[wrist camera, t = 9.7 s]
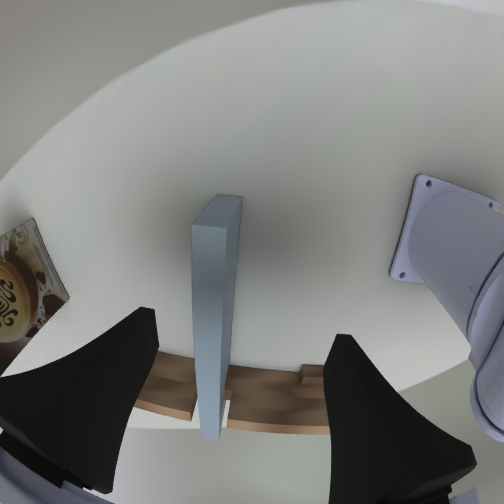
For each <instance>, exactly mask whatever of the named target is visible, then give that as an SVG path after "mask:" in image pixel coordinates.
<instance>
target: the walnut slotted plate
mask: <svg viewBox="0 0 504 504" xmlns="http://www.w3.org/2000/svg"><path fill="white" fill-rule="evenodd" d="M323 367H324V366H319V365H303V366H302V369H301V371H300V373H298V372H285V371H274V370H265V369H256V368H248V367H240V366H233V365H229V367H228V372H227V377H226V382H225V391H224V400H231V401H230V407H229V413H228V419H227V428H232V429H240V430H248V431H258V432H269V433H285V434H330V428H329V422H328V415H327V409H326V402H325V396H324V386H323ZM197 397H198V396H197V384H196V370H195V359H191V358H186V357H181V356H176V355H171V354H167V353H162V352H158V351H157V354H156V358H155V360H154V363H153V366H152V368H151V371H150V373H149V375H148V377H147V379H146V381H145V383H144V385H143V387H142V389H141V391H140V394H139V396H138V398H137V400H136V402H135V404H134V406H133V407H136V408H140V409H143V410H147V411H150V412H154V413H157V414H161V415H165V416H169V417H173V418H178V419H182V420H187V421H191V420H192V416H193V412H194V409H195V405H196V401H197Z"/></svg>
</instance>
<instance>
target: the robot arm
mask: <svg viewBox="0 0 504 504" xmlns="http://www.w3.org/2000/svg"><path fill="white" fill-rule="evenodd" d="M428 180H429V185H428V186H426V182H427V181H428ZM489 203H490V205H489ZM500 208H501V206H500V203H499V202H497V201H495V200H492V199H490V198H488V197H485V196H483V195H480V194H478V193H475V192H473V191H470V190H467V189H465V188H462V187H459V186H456V185H454V184H451V183H448V182H445V181H442V180H439V179H436V178H433V177H430V176H427V175H423V174H419V175H418V176H417V177H416V179H415V184H414V189H413V193H412V197H411V202H410V206H409V210H408V213H407V217H406V221H405V225H404V228H403V232H402V235H401V239H400V242H399V245H398V249H397V252H396V255H395V258H394V261H393V264H392V267H391V270H390V277H391V278H392V279H393V280H398V281H407V282H416V283H425V284H426V285H427V286H428V287H429V288H430V290H431V291H432V292H433V293H434V295H435V296H436V297H437V299H438V300H439V301H440V303H441V304H442V305H443V307H444V308H445V309H446V311H447V312H448V313H449V315H450V316H451V317H452V319H453V320H454V322H455V323H456V324H457V326H458V327H459V329H460V330H461V332H462V333H463V335H464V336H465V338H466V339H467V341H468V342H469V343H470V346H471V352H470V355H469V357H468V358H469V360H470V361H471V363H472V365H473V367H474V368H475V370H476V373H475V375H474V377H473V380H472V383H471V387H470V404H471V408H472V412H473V414H474V417H475V419H476V421H477V422H478V424H479V425H480V427H481V428H482V429H483V430H484V431H485V432H486V433H487V434H488V435H489V436H490V437H492V438H493V439H495V440H498V441H500V442H504V215H502V214H501V213H499V212H500ZM402 272H403V275H401V276H400V273H402ZM158 348H159V341H158V334H157V326H156V318H155V310H154V309H150V308H145V307H139V308H138V309H137V310H135V311H134V312H132V313H131V314H130V315H128V316H127V317H126V318H124V319H123V320H122V321H120V322H119V323H117V324H116V325H115V326H113V327H112V328H110V329H109V330H108V331H106V332H105V333H103V334H102V335H100V336H99V337H97V338H96V339H94V340H93V341H91V342H90V343H88V344H86V345H85V346H83V347H82V348H80V349H78V350H76V351H74V352H73V353H71V354H69V355H67V356H65V357H63V358H61V359H58V360H56V361H54V362H51V363H49V364H46V365H44V366H42V367H39V368H36V369H33V370H30V371H26V372H23V373H19V374H15V375H10V376H5V377H0V427H1V428H2V429H3V432H2V434H0V502H1V503H2V504H114V503H112V502H109V501H107V500H104V499H102V498H100V497H98V496H95V495H93V494H91V493H89V492H87V491H85V490H83V487H84V488H86V489H89V490H92V489H93V490H96V491H98V492H100V493H103V494H108V493H111V492H112V490H113V482H114V475H115V469H116V464H117V460H118V455H119V451H120V446H121V443H122V439H123V435H124V432H125V428H126V426H127V422H128V419H129V416H130V414H131V411H132V409H133V406H134V404H135V402H136V400H137V398H138V396H139V394H140V391H141V389H142V387H143V385H144V383H145V381H146V379H147V377H148V375H149V373H150V371H151V368H152V366H153V363H154V360H155V358H156V354H157V351H158ZM323 386H324V396H325V402H326V409H327V415H328V422H329V428H330V435H331V484H330V495H329V503H328V504H480V503H479V498H478V494H477V490H476V487H473V488H471V489H469V490H467V491H465V492H463V493H461V494H459V495H457V496H455V497H453V498H451V499H449V498H448V494H449V493H451V492H452V488H451V484H453V483H455V482H456V481H458V480H459V479H461V478H462V477H464V476H465V475H467V474H468V473H469V472H471V471H472V470H473V469H474V468H475V467H476V465H477V462H476V459H475V456H474V453H473V450H472V447H471V446H470V445H468V444H466V443H464V442H462V441H460V440H458V439H456V438H454V437H453V436H451V435H449V434H448V433H446V432H444V431H443V430H441V429H440V428H438V427H437V426H435V425H434V424H433V423H431V422H430V421H429V420H427V419H426V418H425V417H423V416H422V415H421V414H420V413H418V412H417V411H416V410H415V409H414V408H413V407H412V406H411V405H410V404H409V403H407V402H406V401H405V400H404V399H403V398H402V397H401V396H400V395H399V394H398V393H397V392H396V391H395V389H394V388H393V387H392V386H391V385H390V384H389V383H388V382H387V380H386V379H385V378H384V377H383V376H382V374H381V373H380V372H379V371H378V369H377V368H376V367H375V366H374V364H373V363H372V362H371V360H370V359H369V358H368V356H367V355H366V354H365V353H364V351H363V350H362V348H361V347H360V346H359V344H358V343H357V342H356V340H355V339H354V338H353V337H352V335H347V334H337V335H336V337H335V340H334V342H333V345H332V347H331V350H330V352H329V355H328V357H327V360H326V362H325V365H324V367H323Z"/></svg>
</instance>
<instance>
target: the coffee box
mask: <svg viewBox="0 0 504 504" xmlns="http://www.w3.org/2000/svg"><path fill="white" fill-rule="evenodd" d="M68 300H69V297H68V295H67V293H66V291H65V289H64V287H63V285H62V283H61V281H60V279H59V277H58V275H57V273H56V271H55V269H54V267H53V265H52V263H51V260H50V258H49V256H48V254H47V251H46V249H45V246H44V244H43V242H42V239H41V237H40V234H39V232H38V229H37V226H36V223H35V221H34V219H33V218H32V219H30V220H28V221H26V222H24V223H22V224H20V225H19V226H17V227H15V228H13V229H12V230H10V231H8V232H6V233H5V234H3V235H1V236H0V377H1V375H2V374H3V373H4V371H5V370H6V369H7V368H8V366H9V365H10V364H11V363H12V362H13V360H14V359H15V358H16V357H17V355H18V354H19V353H20V352H21V351H22V349H23V348H24V347H25V346H26V345H27V344H28V343H29V341H30V340H31V339H32V338H33V337H34V336H35V335H36V333H37V332H38V331H39V330H40V329H41V328H42V327H43V326H44V325H45V324H46V322H47V321H48V320H49V319H50V318H51V317H52V316H53V315H54V314H55V313H56V312H57V311H58V310H59V309H60V308H61V307H62V306H63V305H64V304H65V303H66V302H67V301H68Z"/></svg>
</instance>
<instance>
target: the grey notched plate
mask: <svg viewBox="0 0 504 504" xmlns="http://www.w3.org/2000/svg"><path fill="white" fill-rule="evenodd" d="M241 204H242V197H241V196H231V195H221V194H217V195H216V197H215V198H214V199H213V200H212V201H211V202H210V204H209V205H208V206H207V207H206V208H205V209H204V211H203V212H202V213H201V214H200V215H199V217H198V218H197V219H196V220H195V221H194V223H193V224H192V312H193V336H194V355H195V370H196V384H197V396H198V407H199V417H200V427H201V435H202V437H204V438H210V439H216V440H219V437H220V432H221V426H222V420H223V415H224V409H225V404H226V400H224V391H225V382H226V377H227V372H228V367H229V361H230V346H231V331H232V317H233V303H234V290H235V277H236V264H237V251H238V239H239V227H240V215H241Z"/></svg>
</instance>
